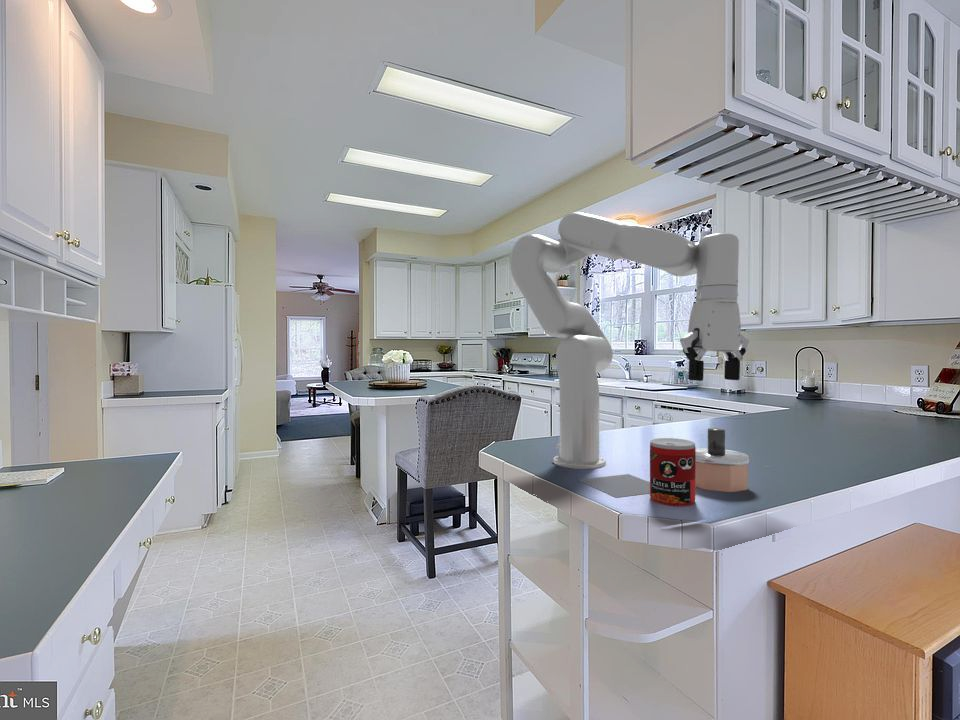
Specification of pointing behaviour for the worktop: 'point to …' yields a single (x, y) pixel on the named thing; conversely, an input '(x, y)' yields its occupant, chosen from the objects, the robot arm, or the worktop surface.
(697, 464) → the bowl
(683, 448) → the canned food
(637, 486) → the plate
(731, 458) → the lid
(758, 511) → the worktop surface
